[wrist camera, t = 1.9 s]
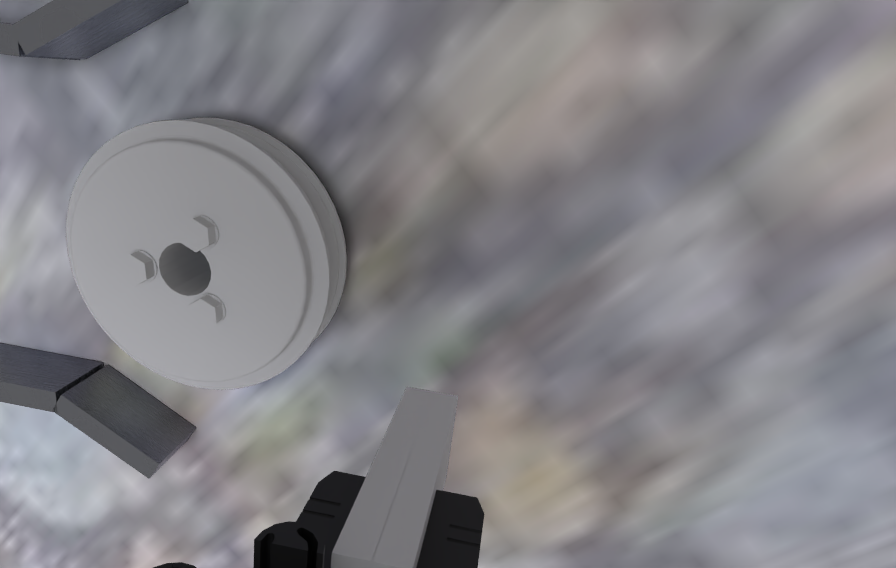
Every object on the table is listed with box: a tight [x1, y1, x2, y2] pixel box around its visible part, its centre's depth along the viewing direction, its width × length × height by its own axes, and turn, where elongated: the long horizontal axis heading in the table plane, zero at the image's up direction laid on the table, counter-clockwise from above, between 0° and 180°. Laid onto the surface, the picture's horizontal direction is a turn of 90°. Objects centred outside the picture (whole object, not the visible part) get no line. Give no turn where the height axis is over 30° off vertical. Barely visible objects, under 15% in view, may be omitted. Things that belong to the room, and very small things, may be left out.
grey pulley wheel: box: [66, 118, 347, 390], centre depth 28 cm, size 13×13×5 cm
